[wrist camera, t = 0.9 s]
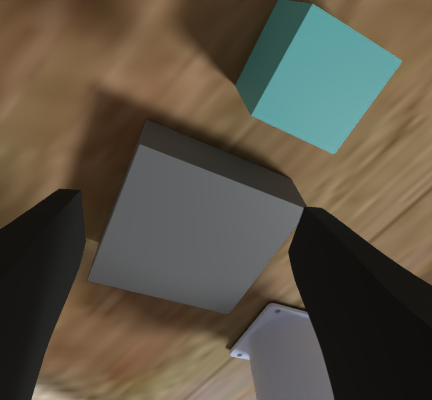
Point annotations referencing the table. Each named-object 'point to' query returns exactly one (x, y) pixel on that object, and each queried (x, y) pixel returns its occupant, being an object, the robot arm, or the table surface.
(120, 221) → the block
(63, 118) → the table surface
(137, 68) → the table surface
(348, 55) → the teal block
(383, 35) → the table surface
